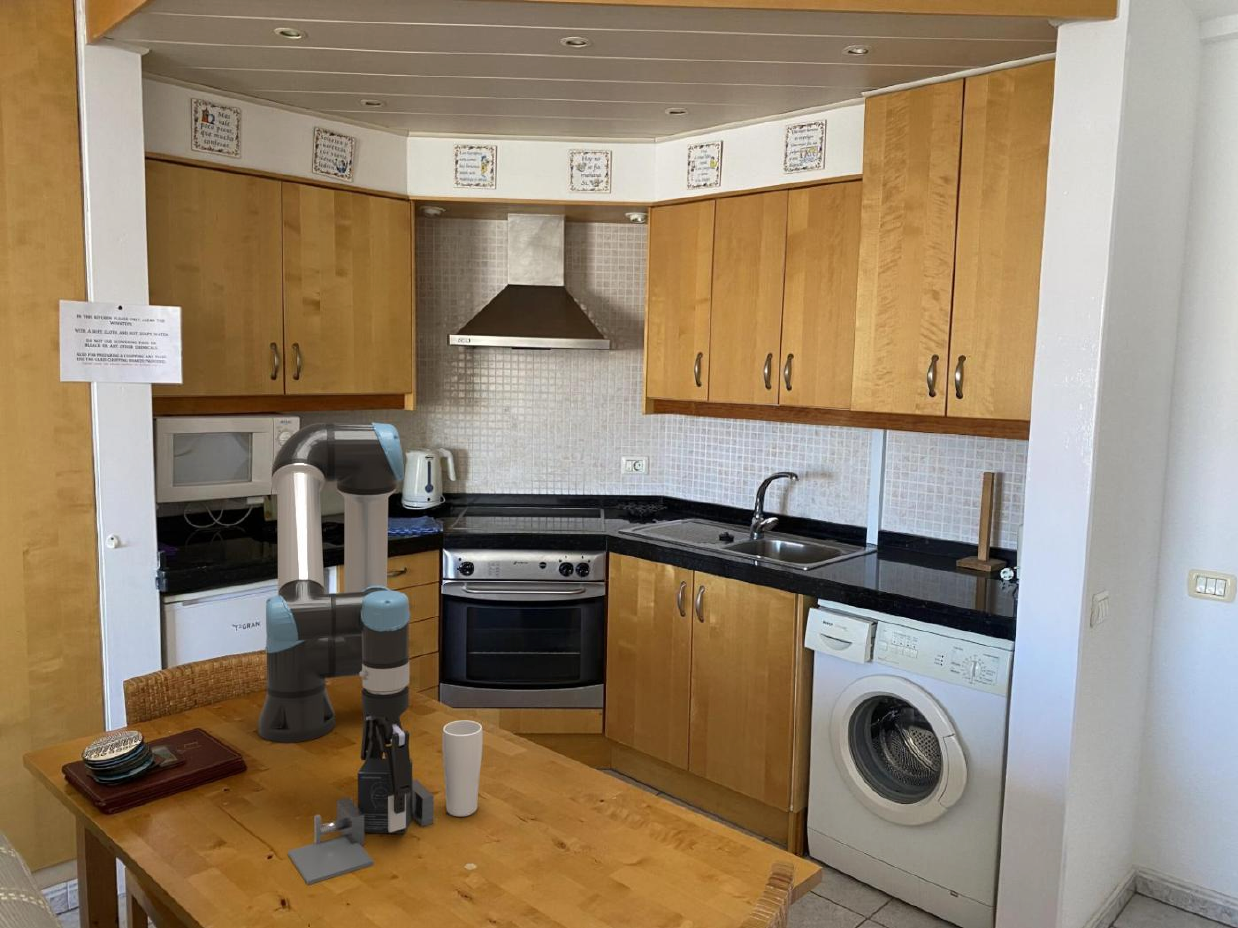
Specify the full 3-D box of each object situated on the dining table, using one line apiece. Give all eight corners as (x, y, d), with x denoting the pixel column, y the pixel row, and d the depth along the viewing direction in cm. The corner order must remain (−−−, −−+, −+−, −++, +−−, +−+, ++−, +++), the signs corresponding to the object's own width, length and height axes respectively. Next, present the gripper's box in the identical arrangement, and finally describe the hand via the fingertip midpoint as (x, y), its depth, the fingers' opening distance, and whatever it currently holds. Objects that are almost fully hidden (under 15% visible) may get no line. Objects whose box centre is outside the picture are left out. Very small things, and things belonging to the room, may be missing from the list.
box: (412, 817, 156) (413, 758, 155) (404, 834, 150) (405, 773, 149) (366, 815, 156) (366, 756, 155) (357, 832, 151) (356, 771, 149)
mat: (287, 854, 144) (287, 850, 144) (350, 836, 150) (350, 832, 150) (308, 884, 136) (308, 880, 136) (373, 864, 142) (373, 860, 142)
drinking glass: (473, 822, 155) (474, 737, 154) (435, 817, 157) (436, 733, 155) (487, 803, 162) (488, 721, 160) (450, 798, 163) (451, 717, 161)
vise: (308, 836, 149) (308, 807, 149) (416, 806, 160) (416, 779, 160) (322, 856, 143) (322, 826, 143) (433, 823, 154) (433, 795, 154)
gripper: (340, 671, 157) (341, 796, 160) (389, 713, 140) (389, 852, 142) (382, 663, 161) (382, 785, 164) (434, 703, 144) (434, 838, 147)
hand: (385, 816), depth 153 cm, fingers closed on box, 9 cm apart
